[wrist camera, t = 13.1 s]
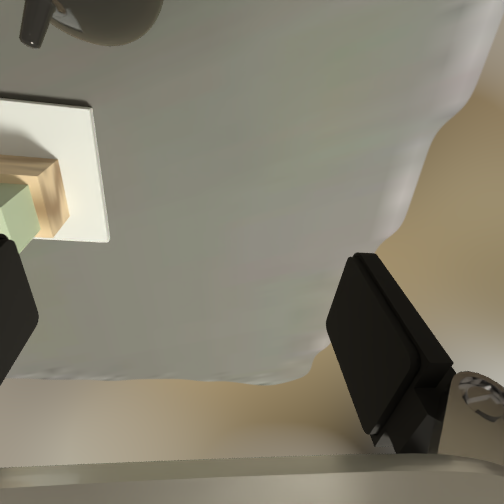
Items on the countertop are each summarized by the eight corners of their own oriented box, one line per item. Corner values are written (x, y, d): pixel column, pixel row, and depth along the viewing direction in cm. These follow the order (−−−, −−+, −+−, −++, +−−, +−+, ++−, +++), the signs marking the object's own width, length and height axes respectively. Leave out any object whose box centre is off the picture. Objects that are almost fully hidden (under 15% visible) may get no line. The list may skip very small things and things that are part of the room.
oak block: (-13, 153, 35) (-44, 170, 31) (58, 159, 36) (37, 176, 32) (6, 212, 39) (-19, 234, 34) (69, 216, 40) (52, 238, 35)
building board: (-71, 90, 32) (-79, 91, 31) (92, 107, 34) (89, 109, 33) (-17, 231, 41) (-22, 235, 40) (110, 238, 43) (108, 242, 42)
